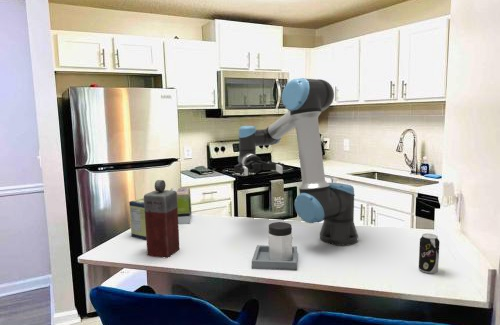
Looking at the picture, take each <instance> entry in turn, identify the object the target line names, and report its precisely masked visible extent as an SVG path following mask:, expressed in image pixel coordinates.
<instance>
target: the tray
mask: <svg viewBox="0 0 500 325" xmlns="http://www.w3.org/2000/svg"><path fill="white" fill-rule="evenodd" d="M255 247H256V248H255V250H254V253H253V256H252V259H251V269H256V270H261V269H262V270H280V271H283V270H286V271H297V264H298V262H297V261H298V246H297V245H296V246H294V245H292V260H289V261H274V260H270V258H269V245H262V244H261V245H260V244H257V245H256V246H255Z"/></svg>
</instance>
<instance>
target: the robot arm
mask: <svg viewBox="0 0 500 325" xmlns="http://www.w3.org/2000/svg"><path fill="white" fill-rule="evenodd" d="M332 86H333V85H331V84H330V82H328V81H327V80H324V79H316V78H304V77H300V78H293V79H290V80H289V81H288V82H287V83H286V84H285V87H284V88H283V90H282V94H281V101H282V105H283V106H284V107H285V109H286V110H288V111H287V112H285V113H284V114H283V115H281V117H280V118H278V119H276V120H275V121H274V122H273V123H271V124H270V125H269V126H267V127H266V128H264V129H263V128H262V129H256V127H255V126H254V125H244V126H243V125H242V126H240V127H239V128H238V143H239V145H238V146H239V149H238V150H239V152H238V153H239V154H238V157H237V162H238V164H236V165H234V173H239V175H245V176H249V173H251V174H257V173H258V172H260V171H267V170H272V171H276V172H277V173H279V174H281V175H282V174H283V172H284V170H285V164H284V163H282V162H280V161H279V162H274V161H271V160H268V161H263V159H262V158H260V157H259V156H257V147H259V146H260V147H261V146H263V147H264V146H274V145H277V144H279V143H280V141H281V140H282V137H284V136H285V135H287V134H288V133H290V132H291V131H293V130H294V129H295V130H296V140H297V149H298V155H299V156H298V157H299V164H300V172H301V173H300V174H301V182H302V183H301V184H300V186H299V187H298V190H299V192H298V195H297V196H296V198H295V199H294V209H295V212H296V214H297V215H298V217H299V218H300V219H301V220H302V221H303V222H305V223H307V224H317V223H321V222H322V225H321V227H320V231H319V240H320V241H322V242H323V243H324V244H328V245H332V246H333V245H335V246H350V245H355V244H356V243H358V240H359V237H358V236H359V234H358V231H357V228H356V225H355V221H354V216H355V189H354V186H353V185H351V184H346V183H340V182H327V181H326V177H325V167H324V166H325V165H324V160H323V150H322V143H321V142H322V141H321V132H320V126H319V116H320V115H321V114H322V112H325V111H326V110H327V109H328V108H329V107H331V105H332V104H333V101H334V99H335V90H334V88H333V87H332Z"/></svg>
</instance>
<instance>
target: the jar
mask: <svg viewBox="0 0 500 325" xmlns="http://www.w3.org/2000/svg"><path fill="white" fill-rule="evenodd" d="M292 231H293V227H292V224H291V223H289V222H284V221H283V222H282V221H276V222H271V223H269V224H268V232H267V233H268V246H269V258H270V260H274V261H289V260H292V246H293V232H292Z"/></svg>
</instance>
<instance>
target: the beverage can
mask: <svg viewBox="0 0 500 325" xmlns="http://www.w3.org/2000/svg"><path fill="white" fill-rule="evenodd" d="M440 243H441V242H440V239H438V235H436V234H433V233H428V232H427V233H422V235H421V237H420V238H419V250H418V251H419V252H418V269H419V270H420V271H421V272H423V273H425V274H430V275H431V274H435V273H437V272H438V271H439V260H440V256H439V255H440Z"/></svg>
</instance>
